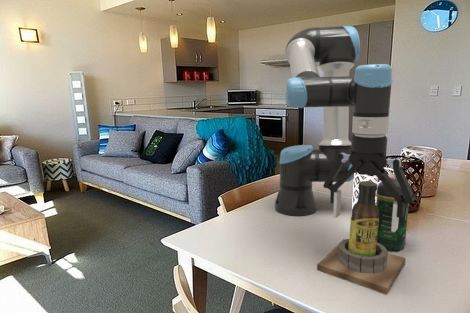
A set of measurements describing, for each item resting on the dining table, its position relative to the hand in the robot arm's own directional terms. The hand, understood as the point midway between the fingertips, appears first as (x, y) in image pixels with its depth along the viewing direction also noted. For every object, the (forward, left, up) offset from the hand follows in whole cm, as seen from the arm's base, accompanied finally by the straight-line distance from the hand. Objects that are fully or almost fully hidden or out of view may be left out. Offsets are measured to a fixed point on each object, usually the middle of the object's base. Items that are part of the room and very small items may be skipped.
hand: (364, 222), depth 78 cm
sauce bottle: (0, 0, -10) cm, 10 cm away
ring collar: (0, 0, -12) cm, 12 cm away
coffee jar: (+2, +17, -12) cm, 21 cm away
